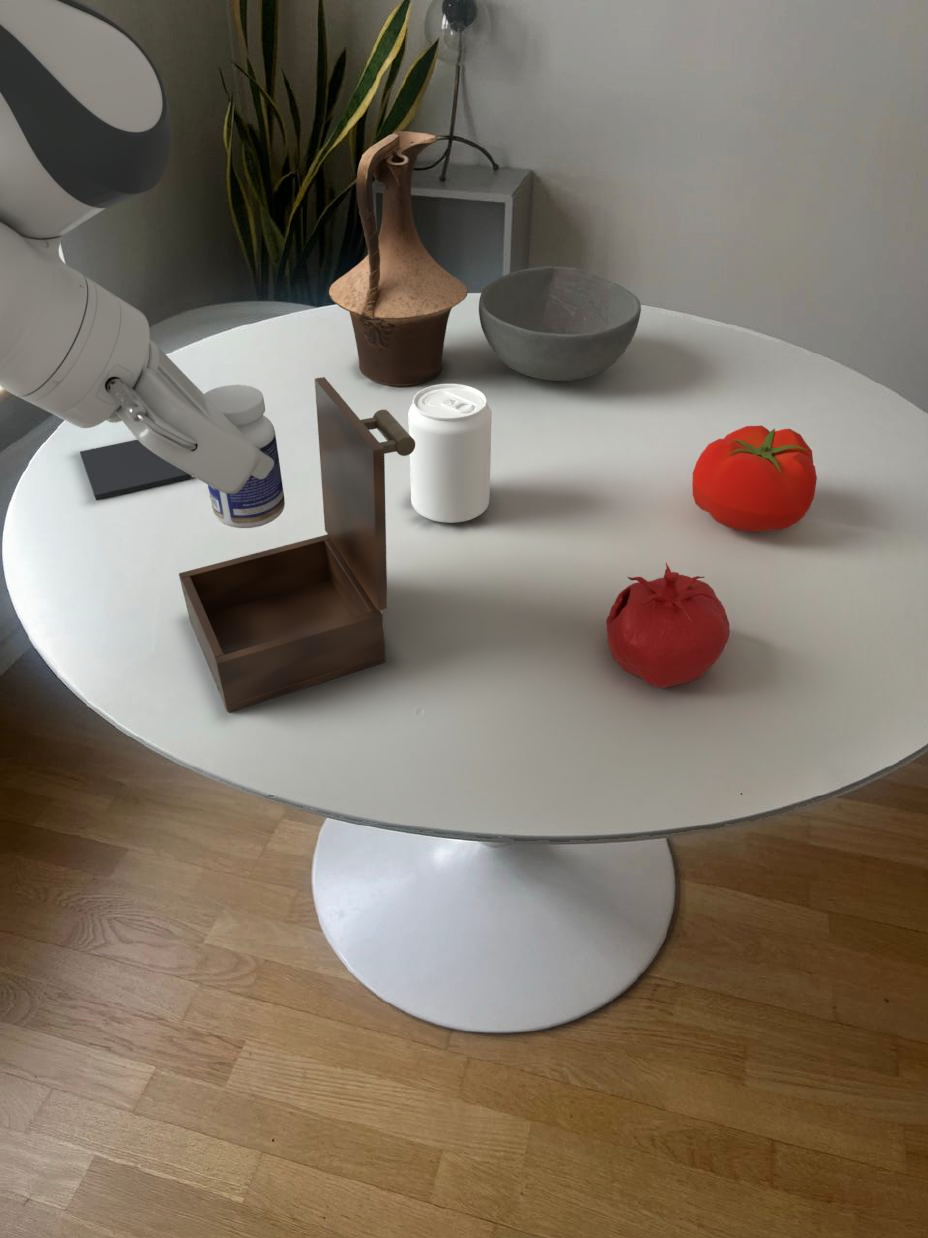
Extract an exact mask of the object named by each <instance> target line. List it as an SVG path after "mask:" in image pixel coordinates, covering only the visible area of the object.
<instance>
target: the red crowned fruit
mask: <svg viewBox="0 0 928 1238" xmlns="http://www.w3.org/2000/svg"><path fill="white" fill-rule="evenodd" d="M665 567H666V568H665V571H664V574H663V577H658V578H656V579H652V580H649V581H648V580H647V579H646V578H644V577H642V576H633V577H631V576H626V577H627V579H629V580H630V581H636V582H633V583H632V584H630V585H628V586H627V587H626V588H624V589H622V590H621V591H620V592H619V593H618V595H616V598H615V600H614V602H613V604H612V606H611V607H610V611H609V614H608V616H607V618H606V621H605V625H606V626H605V627H606V633H607V635H606V636H607V639H606V640H607V645H608V649H609V652H610V654H611V657H612V658H613V660H614V661H616V663H617V664H618V665H619V666H620V668H622V669H623V670H624V671H625V672H626V673H629V674H631V675H633V676H636V677H639V678H642V680H643V681H644V682H645V683H647V684H648V685H650V686H653V687H656V688H670V687H673V686H676V685H681V684H687V683H689V682H691V681H694V680H697V679H698V678H701V677H702V676H703V675H704V674H705V673H707V671H708V670H710V669H711V668H712V667H713V666H714V665H715V663H716V662H717V661H718V660H719V658H720V657H721V655H722V653H723V652H724V650H726V649H725V648H726V646H727V644H728V642H729V639H730V635H731V630H730V626H731V625H730V622H729V618H728V615H727V611H726V608H725V607H724V606H723V604H722V601H720V600H719V598H718V597H717V594H716V593H715V590H714V589H713V587H711V586H710V584H708V583H707V582H705V581H702V580H699V579H704V578H705V576H700V575H696V576H693V577H691V576H689V575H685V574H680V573H679V572H677V571H671V568H670V567H669V565H668V562H665Z"/></svg>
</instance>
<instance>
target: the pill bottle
mask: <svg viewBox="0 0 928 1238" xmlns="http://www.w3.org/2000/svg"><path fill="white" fill-rule="evenodd" d="M203 394H204V395H205V396H206V397H207V398H208V399H209V400H210V401H211V402H212V403H213V404H214V405H215V406H216V407H217V408H218V409H219V410H220V411H221V412H222V413H223V414H224V415H225V416H226V417H227V418H228V419H229V420H230V421H231V422H232V423H233V424H234V425H235V426H236V427H237V429H238V430H239V431H240V432H241V433H242V434H243V435H244V436H245V437H246V438H247V439H248V440H249V441H250V442H251V443H252V444H253V445H254V446H256V447H258V448H259V449H261V450H263V451H264V452H266V453H267V454H268V455H269V456H270V457H271V458H272V459H273V461H274V467H273V468H272V470H271V471H270V472H269V474H268V475H267V477H266V478H264V479H258V478H256V477H254V476H252V475H251V476H250V477H249V479H248V480H247V481H246V483H245V484H244V486H243V487H242V488H241V490H240V491H239V492H237V493H235V494H227V493H224V492H221V491H219V490H217V489H215V488H213V487H211V486H210V485H208V484H207V488H208V494H209V498H210V503H211V508H212V512H213V515H214V516H215V518H216V519H217V520H218V521H219V522H220V523H221V524H223V525H226V526H228V527H231V528H237V529H252V528H258V527H261V526H264V525H267V524H269V523H271V522H273V521H275V520H276V519H277V518H278V517H280V516H281V514H282V513H283V512H284V510H285V506H286V505H285V504H286V502H285V501H286V500H285V494H284V493H285V492H284V485H283V479H282V472H281V463H280V455H279V450H278V442H277V436H276V430H275V426H274V424H273V423H272V421H271V420H270V419H269V418H268V417H267V416H266V415H264V414H265V412H266V405H265V399H264V394H263V392H262V391H261V390H260V389H258V388H257V387H254V386H251V385H247V384H228V385H227V384H226V385H222V386H218V387H215V388H213V389H210V390H208V391H207V392H205V393H203Z"/></svg>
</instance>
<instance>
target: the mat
mask: <svg viewBox="0 0 928 1238" xmlns="http://www.w3.org/2000/svg"><path fill="white" fill-rule="evenodd" d="M79 455H80V458H81V460H82V464H83V466H84V470H85V472H86V475H87V478H88V482H89V484H90V487H91V490H92V493H93V496H94V498H95V500H97V501H98V500H101V499H106V498H111V497H113V496H119V495H125V494H128V493H131V492H137V491H141V490H146V489H149V488H150V489H151V488H154V487H158V486H162V485H168V484H172V483H175V482H180V481H184V480H190V479H191V478H192V475H190V474H188V473H186V472H185V471H183V470H181V469H179V468H177V467H176V466H174V465H172V464H171V463H169V462H167V461H166V460H164V459H162V458H161V457H159V456H158V455H156V454H155V453H153V452H152V451H150V450H149V449H148V448H146V447H145V446H144V445H143V444H142V443H140V442H139V441H138V440H137V439H133V440H128V441H124V442H119V443H115V444H114V443H113V444H109V445H104V446H100V447H95V448H89V449H85V450H81V451H79Z"/></svg>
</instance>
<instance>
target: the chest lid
mask: <svg viewBox="0 0 928 1238" xmlns="http://www.w3.org/2000/svg"><path fill="white" fill-rule="evenodd" d="M314 389H315V404H316V418H317V419H316V420H317V421H316V422H317V435H318V449H319V463H320V479H321V491H322V505H323V506H322V507H323V508H322V509H323V522H324V531H325V532H326V535H327V534H328V535H329V537H330V538H331V540H332V542H333V543H334V545H335V546H336V548H337V549H338V551H339V552H340V554H341V555H342V557H343V558H344V560H345V561H346V563H347V564H348V566H349V567H350V569H351V571H352V572H353V574H354V575H355V577H356V578H357V580H358V581H359V583H360V584H361V586H362V587H363V589H364V590H365V592H366V593H367V595H368V596H369V598H370V600H371V601H372V603H373V604H374V606H375V607H376V609H377V610H378V611H379V610H380V611H382V610H386V609H388V577H387V576H388V574H387V573H388V571H387V570H388V569H387V566H388V565H387V522H386V521H387V519H386V518H387V517H386V515H387V514H386V467H385V466H386V465H385V454H390V453H395V452H396V453H397V454H398V455H399V456H402V457H407V456H410V454H411V453H412V452H413V451H414V449H415V441H414V439H413V438H412V437H411V436H410V435H409V432H408V431H407V430H406V429H405V428H404V427H403V426H402V425H401V423H400V422H399V421H398V420H397V419H396V418H395V417H394V416H393V415H392V413H390V411H389V410H387V409H379V410H377V411H376V412H375V413H374V414H373V416H372V417H369V418H363V419H361V418H359V416H358V415H357V414H356V413H355V412H354V411H353V409H352V408H351V407H350V406H349V404H348V403H347V402H346V401H345V400H344V399H343V397H342V396H341V395H340V393H339V392H337V390H336V389H335V388H334V387H333V385H332V384H331V382H329V381H328V379H327V378H326V377H325V376H323V377H316V378H314ZM375 429H376V430H378V432H379V433H380V434H381V436H383V438H384V439H385V440H386V441H381V442H379V440H378V439H377V438H376V437H375V435H373V433H372V432H371V430H375Z"/></svg>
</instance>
